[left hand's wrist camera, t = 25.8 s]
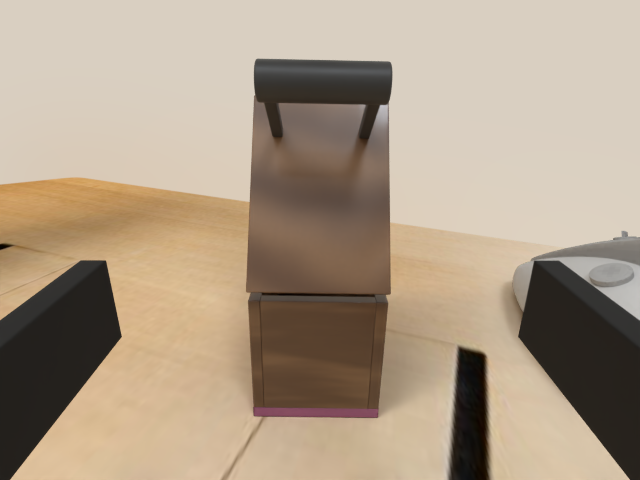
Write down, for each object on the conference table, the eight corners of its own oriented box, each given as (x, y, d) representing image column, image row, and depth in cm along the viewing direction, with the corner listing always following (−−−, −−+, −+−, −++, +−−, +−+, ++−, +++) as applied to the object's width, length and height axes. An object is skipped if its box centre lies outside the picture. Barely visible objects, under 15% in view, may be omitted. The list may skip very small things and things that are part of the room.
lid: (256, 102, 29) (232, 19, 20) (385, 105, 29) (415, 24, 20) (248, 292, 27) (218, 288, 18) (387, 294, 27) (421, 291, 18)
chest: (272, 319, 42) (269, 231, 38) (361, 321, 42) (366, 233, 38) (253, 416, 30) (247, 300, 26) (377, 417, 30) (388, 303, 27)
